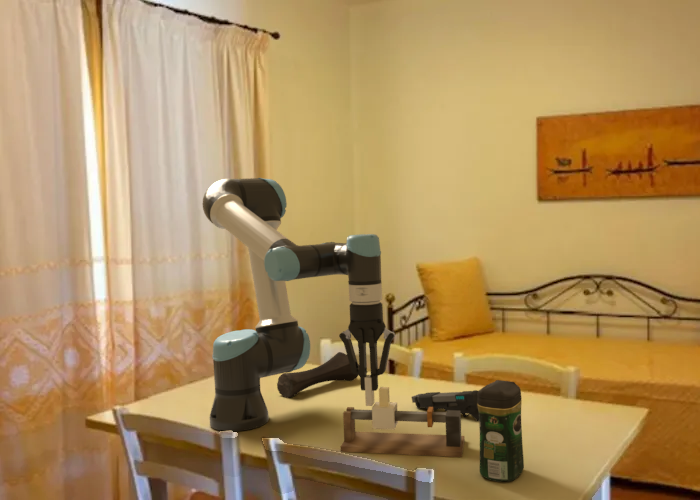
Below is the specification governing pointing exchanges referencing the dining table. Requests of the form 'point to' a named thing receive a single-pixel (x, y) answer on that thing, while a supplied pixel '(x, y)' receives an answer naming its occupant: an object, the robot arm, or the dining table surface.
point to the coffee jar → (500, 431)
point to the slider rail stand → (405, 442)
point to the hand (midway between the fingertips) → (370, 404)
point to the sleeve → (384, 411)
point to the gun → (450, 402)
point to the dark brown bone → (316, 376)
